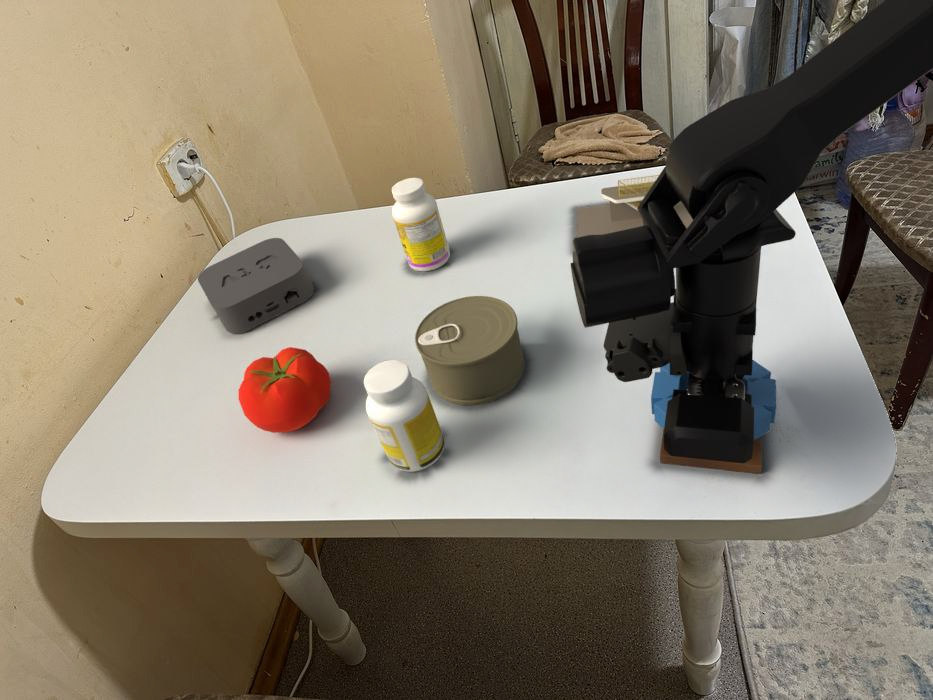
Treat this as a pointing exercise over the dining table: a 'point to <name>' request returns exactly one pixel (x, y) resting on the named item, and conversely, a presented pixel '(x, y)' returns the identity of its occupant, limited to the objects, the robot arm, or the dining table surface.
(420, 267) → the supplement bottle
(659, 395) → the blue ring
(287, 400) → the tomato
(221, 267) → the streaming box
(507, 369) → the can
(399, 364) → the pill bottle
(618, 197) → the platform
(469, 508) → the dining table surface
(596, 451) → the dining table surface
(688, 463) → the peg stand
